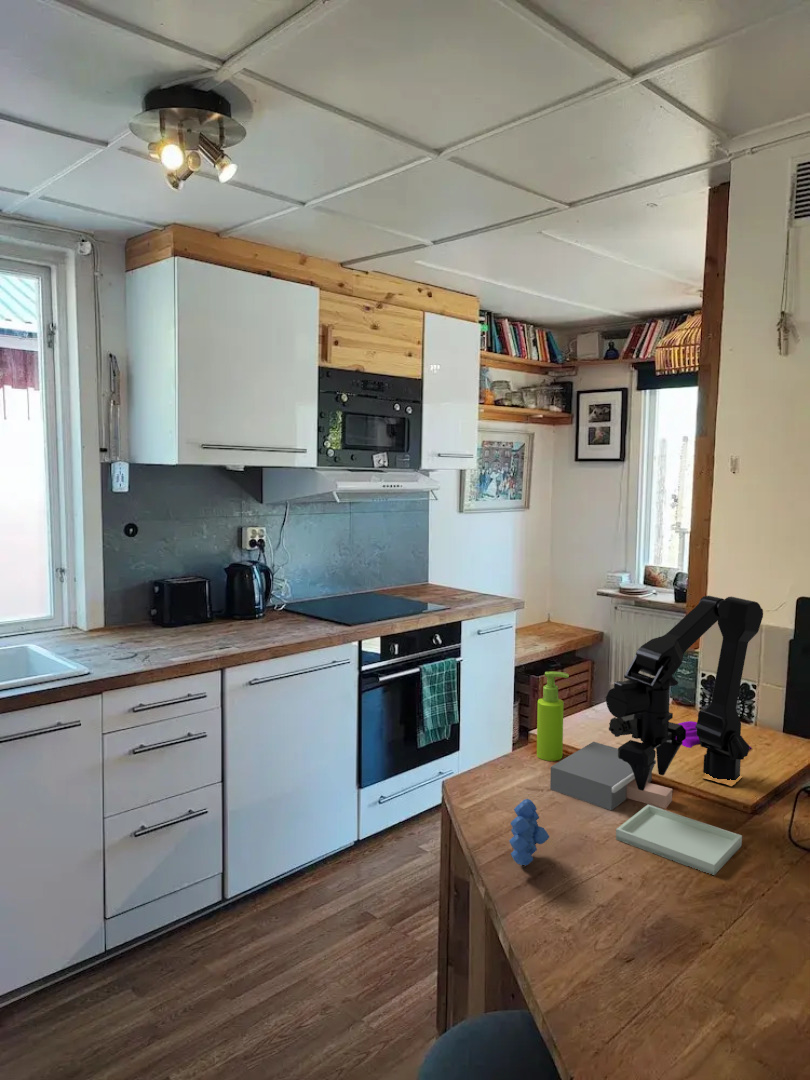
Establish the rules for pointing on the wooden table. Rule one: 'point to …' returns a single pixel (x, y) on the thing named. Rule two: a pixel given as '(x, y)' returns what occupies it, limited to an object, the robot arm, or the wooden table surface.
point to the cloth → (690, 734)
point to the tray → (680, 838)
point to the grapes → (526, 833)
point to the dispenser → (593, 776)
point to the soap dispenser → (550, 720)
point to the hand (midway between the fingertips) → (651, 782)
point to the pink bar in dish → (650, 794)
